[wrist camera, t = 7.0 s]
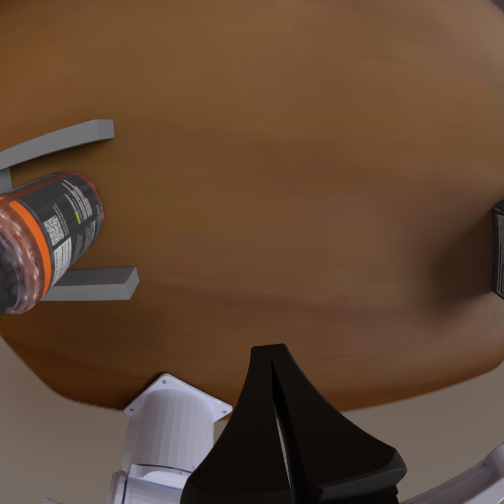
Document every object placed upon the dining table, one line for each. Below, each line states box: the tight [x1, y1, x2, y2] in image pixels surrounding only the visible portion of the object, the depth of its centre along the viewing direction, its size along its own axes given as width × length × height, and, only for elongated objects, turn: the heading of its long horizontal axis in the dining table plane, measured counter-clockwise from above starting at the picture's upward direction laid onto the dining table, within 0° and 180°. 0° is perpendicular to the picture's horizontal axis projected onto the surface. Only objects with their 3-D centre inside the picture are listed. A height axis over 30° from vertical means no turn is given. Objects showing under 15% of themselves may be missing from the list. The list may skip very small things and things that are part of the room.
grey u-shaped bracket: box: [0, 119, 139, 301], centre depth 16 cm, size 11×11×2 cm
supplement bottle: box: [0, 170, 104, 316], centre depth 12 cm, size 6×6×11 cm
